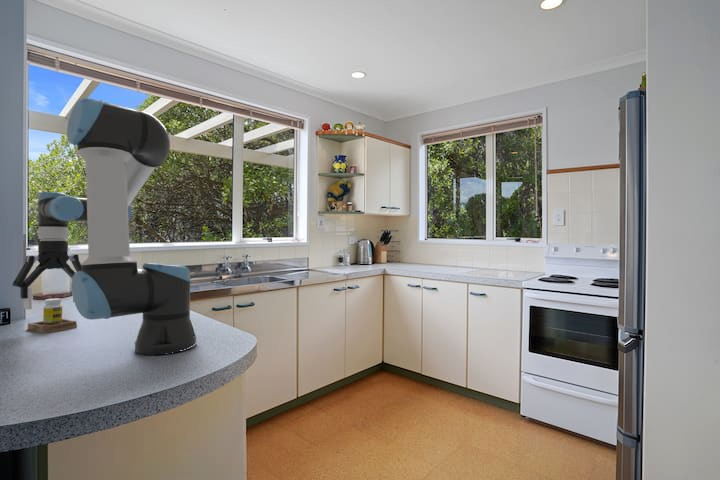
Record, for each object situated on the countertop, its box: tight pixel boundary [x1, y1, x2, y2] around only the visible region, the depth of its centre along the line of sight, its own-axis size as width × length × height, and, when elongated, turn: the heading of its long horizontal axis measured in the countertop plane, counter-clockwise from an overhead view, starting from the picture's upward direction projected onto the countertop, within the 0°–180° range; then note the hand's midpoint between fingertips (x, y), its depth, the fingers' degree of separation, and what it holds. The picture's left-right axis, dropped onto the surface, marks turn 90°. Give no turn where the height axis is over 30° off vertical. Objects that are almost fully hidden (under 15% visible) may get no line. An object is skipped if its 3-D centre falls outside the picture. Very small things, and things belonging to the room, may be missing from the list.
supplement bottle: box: [42, 298, 63, 326], centre depth 123 cm, size 5×5×8 cm
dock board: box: [27, 318, 78, 334], centre depth 123 cm, size 10×9×2 cm
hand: (53, 305), depth 123 cm, fingers open, 13 cm apart
